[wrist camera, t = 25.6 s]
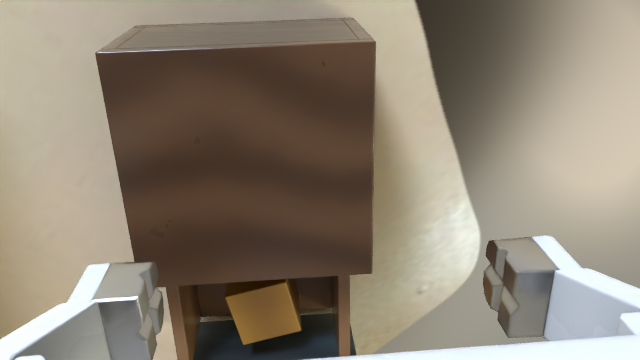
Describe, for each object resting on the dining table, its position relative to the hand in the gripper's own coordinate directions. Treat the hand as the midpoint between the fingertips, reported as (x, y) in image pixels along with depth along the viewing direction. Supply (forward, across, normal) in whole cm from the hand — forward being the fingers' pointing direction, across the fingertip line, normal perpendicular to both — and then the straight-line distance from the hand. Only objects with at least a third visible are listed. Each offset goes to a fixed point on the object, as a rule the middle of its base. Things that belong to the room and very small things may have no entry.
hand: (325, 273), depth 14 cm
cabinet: (+27, +3, +5) cm, 28 cm away
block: (+25, +3, +17) cm, 30 cm away
